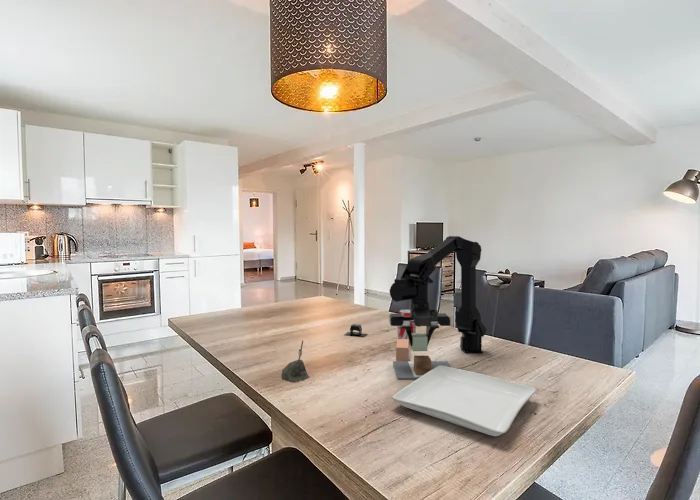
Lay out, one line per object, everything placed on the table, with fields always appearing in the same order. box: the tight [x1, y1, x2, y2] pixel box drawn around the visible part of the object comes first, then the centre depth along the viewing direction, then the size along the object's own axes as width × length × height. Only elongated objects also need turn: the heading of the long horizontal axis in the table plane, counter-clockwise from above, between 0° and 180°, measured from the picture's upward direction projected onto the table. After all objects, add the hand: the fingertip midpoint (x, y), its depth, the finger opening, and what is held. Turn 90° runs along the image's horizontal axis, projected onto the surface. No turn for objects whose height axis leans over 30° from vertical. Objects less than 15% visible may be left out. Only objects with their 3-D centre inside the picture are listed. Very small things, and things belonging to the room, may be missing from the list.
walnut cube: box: [413, 355, 432, 375], centre depth 116 cm, size 4×4×4 cm
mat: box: [392, 360, 453, 381], centre depth 119 cm, size 18×14×1 cm
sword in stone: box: [280, 340, 310, 384], centre depth 116 cm, size 10×8×12 cm
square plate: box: [391, 365, 537, 437], centre depth 96 cm, size 27×27×4 cm
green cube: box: [410, 332, 429, 352], centre depth 123 cm, size 4×4×4 cm
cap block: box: [395, 338, 410, 361], centre depth 132 cm, size 4×10×5 cm, turn 170°
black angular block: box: [343, 323, 369, 338], centre depth 160 cm, size 12×7×5 cm, turn 69°
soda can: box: [397, 308, 417, 344], centre depth 151 cm, size 7×7×12 cm
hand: (419, 345), depth 123 cm, fingers closed on green cube, 4 cm apart
